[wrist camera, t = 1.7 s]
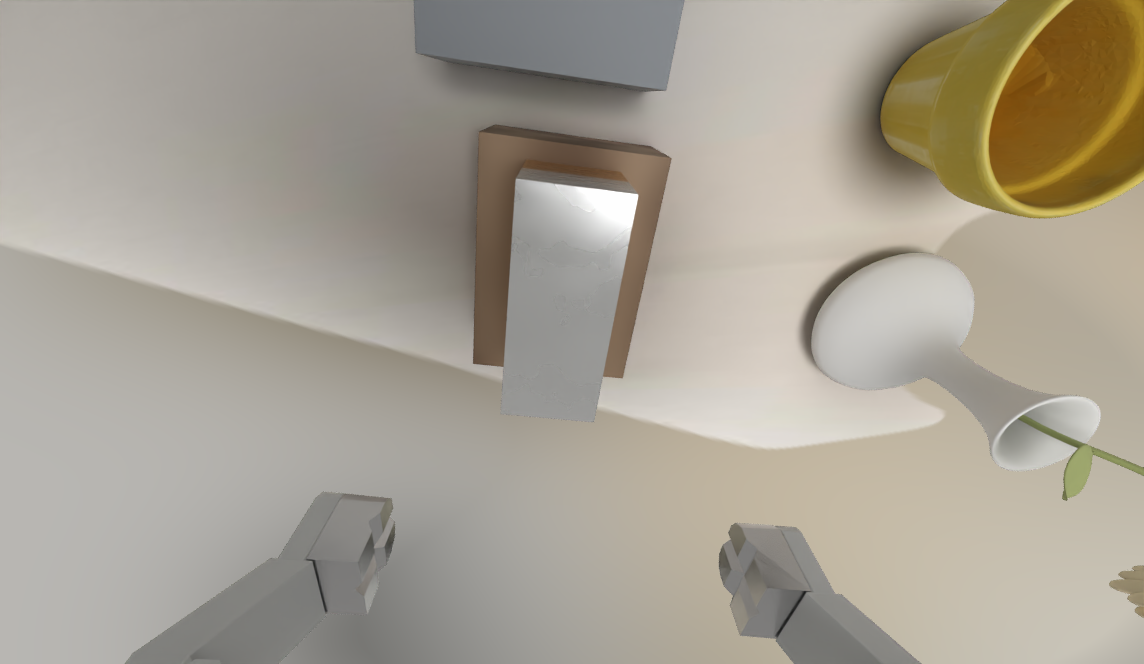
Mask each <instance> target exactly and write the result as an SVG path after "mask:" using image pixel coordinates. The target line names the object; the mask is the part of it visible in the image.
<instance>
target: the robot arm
mask: <svg viewBox="0 0 1144 664" xmlns="http://www.w3.org/2000/svg"><path fill="white" fill-rule="evenodd" d="M392 510H393V504H392V499H391V498H384V497H374V496H364V495H354V494H344V493H332V492H322V493H321V494H320V495H318V496H317V497H316V498H315V500H314V501H313V503H312V505H311V506H310V508H309V509H308V511H307V513H306V514H305V516H304V517H303V519H302V520H301V522H300V524H299V525H298V527H297V528H296V530H295V532H294V533H293V535H292V536H291V538H290V540H289V541H288V543H287V544H286V546H285V548H284V549H283V551H282V553H281V554H280V555H279V557H278V558H270V559H268V560H267V561H266V562H264V563H263V564H261V565H260V566H258V567H257V568H255V569H254V570H253V571H251V572H250V573H248V574H247V575H245V576H244V577H242V578H241V579H240V580H238V581H237V582H235V583H234V584H232V585H231V586H229V587H228V588H226V589H225V590H224V591H222V592H221V593H219V594H218V595H216V596H215V597H213V598H212V599H211V600H209V601H208V602H207V603H205V604H203V605H202V606H200V607H199V608H197V609H196V610H195V611H193V612H192V613H190V614H189V615H187V616H186V617H185V618H183V619H182V620H180V621H179V622H177V623H176V624H174V625H173V626H171V627H170V628H169V629H167V630H166V631H164V632H163V633H161V634H160V635H158V636H157V637H156V638H154V639H153V640H151V641H150V642H148V643H147V644H145V645H144V646H142V647H141V648H140V649H138V650H137V651H135V652H134V653H133V654H132V655H131V656H130V658H129V659H128V660H127V661H126V663H125V664H279V663H280V662H281V661H282V660H283V659H284V658H285V657H286V656H287V655H288V654H289V653H290V652H291V651H292V650H293V649H294V648H295V647H296V646H297V645H298V644H299V643H300V642H301V641H302V640H303V639H304V638H305V637H306V636H307V635H308V634H309V633H310V632H311V631H312V630H313V629H314V628H315V627H316V626H317V625H318V624H319V623H320V622H321V621H322V620H323V619H324V618H325V617H326V614H354V615H367V614H368V611H369V609H370V606H371V604H372V601H373V599H374V596H375V594H376V591H377V588H378V586H379V579H378V571H379V570H381V569H382V568H383V567H384V566H386V565H387V562H388V559H389V557H390V554H391V551H392V546H393V542H394V538H395V521H394V520H393V519H391V518H390V515H391V512H392ZM728 533H729V536H730V538H731V540H729V541H728V542H726V543H725V544H723V546H722V548H721V551H720V553H719V569H720V575H721V579H722V582H723V585H724V587H725V588H726V589H727V590H728V591H729V592H730V593H731V594H732V595H733V598H732V601H731V604H730V607H731V610H732V613H733V616H734V619H735V622H736V625H737V628H738V631H739V634H740V635H741V636H752V637H764V638H775V639H776V642H777V643H778V644H779V646H780V647H781V648H782V649H783V651H784V652H785V653H786V654H787V655H788V657H789V658H790V659H791V660H792V662H793V663H794V664H921V663H920V662H919V661H917V660H916V659H915V658H914V657H913V656H912V655H911V654H909V653H908V652H907V651H906V650H905V649H904V648H903V647H901V646H900V645H899V644H898V643H897V642H896V641H895V640H893V639H892V638H891V637H890V636H889V635H888V634H886V633H885V632H884V631H883V630H882V629H881V628H879V627H878V626H877V625H876V624H875V623H874V622H873V621H871V620H870V619H869V618H868V617H866V615H864V614H863V613H862V612H861V611H860V610H859V609H857V608H856V607H855V606H854V605H853V604H852V603H851V602H849V601H848V600H847V599H846V598H845V597H843V595H842V594H835V592H834V591H833V589H832V587H831V585H830V583H829V582H828V580H827V578H826V576H825V574H824V572H823V571H822V569H821V567H820V565H819V563H818V562H817V560H816V558H815V556H814V555H813V553H812V551H811V549H810V547H809V545H808V544H807V542H806V540H805V538H804V536H803V534H802V533H801V531H800V530H799V529H797V528H796V527H785V526H774V525H763V524H762V525H761V524H746V523H735V524H733V525H732V526H731V528H730V530H729V532H728Z"/></svg>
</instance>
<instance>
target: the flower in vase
mask: <svg viewBox="0 0 1144 664" xmlns="http://www.w3.org/2000/svg"><path fill="white" fill-rule="evenodd" d="M973 311H974V294H973V290H972V287H971V284H970V283H969V281H968V279H967V278H966V276H965V275H964V274H963V272H962V271H961V270H960V269H959V268H958V267H957V266H956V265H955V264H954V263H952V262H951V261H950V260H948V259H946V258H943V257H941V256H938V255H934V254H928V253H907V254H900V255H896V256H892V257H888V258H885V259H882V260H880V261H877V262H874V263H872V264H870V265H868V266H866V267H864V268H862V269H860V270H858V271H857V272H855V273H853V274H852V275H851V276H849V277H848V278H847V279H845V280H844V281H843V282H842V283H841V284H840V285H839V286H838V287H837V288H836V289H835V290H834V291H833V292H832V293H831V294H830V295H829V297H828V298H827V299H826V301H825V302H824V304H823V305H822V307H821V309H820V310H819V313H818V315H817V317H816V320H815V323H814V327H813V331H812V338H811V349H812V354H813V357H814V360H815V363H816V364H817V366H818V367H819V369H820V370H821V371H822V372H823V373H824V374H825V375H826V376H827V377H829V378H830V379H832V380H834V381H835V382H838V383H840V384H843V385H846V386H848V387H851V388H856V389H862V390H879V389H887V388H894V387H899V386H903V385H906V384H909V383H912V382H914V381H917V380H919V379H922V378H924V377H925V378H928V379H930V380H932V381H934V382H936V383H937V384H939V385H940V386H942V387H943V388H945V389H946V390H947V391H949V392H950V393H951V394H952V395H953V396H955V397H956V398H957V399H958V400H959V401H960V402H961V403H962V404H964V406H966V408H968V409H969V411H970V412H971V413H972V414H973V415H974V416H975V417H976V419H977V420H978V421H979V422H980V424H981V425H982V427H983V428H984V430H985V432H986V434H987V437H988V440H989V446H990V454H991V456H992V458H993V461H994V462H995V463H996V464H997V465H998V466H1000V467H1001V468H1004V469H1007V470H1011V471H1029V470H1035V469H1039V468H1043V467H1046V466H1049V465H1052V464H1054V463H1057V462H1059V461H1061V460H1063V459H1065V458H1066V457H1068V456H1070V455H1071V454H1073V455H1072V456H1071V458H1070V460H1069V461H1068V463H1067V466H1066V468H1065V472H1064V479H1063V480H1064V492H1063V496H1062V499H1063V500H1066V501H1067V498H1070V497H1073V496H1075V495H1077V494H1078V493H1079V492H1080V491H1081V490H1082V489H1083V487H1084V485H1085V484H1086V481H1087V479H1088V476H1089V473H1090V469H1091V464H1092V456H1093V455H1096V456H1098V457H1101V458H1103V459H1106V460H1108V461H1110V462H1113V463H1115V464H1118V465H1120V466H1122V467H1125V468H1127V469H1129V470H1132V471H1134V472H1136V473H1138V474H1141V475H1143V476H1144V467H1140V466H1138V465H1136V464H1133V463H1131V462H1129V461H1126V460H1124V459H1121V458H1118V457H1116V456H1114V455H1111V454H1109V453H1107V452H1104V451H1101V450H1099V449H1096V448H1094V447H1091V446H1089V445H1087V444H1085V443H1086V442H1087V441H1088V440H1089V439H1090V438H1091V437H1092V435H1093V434H1094V433H1095V431H1096V429H1097V427H1098V425H1099V423H1100V418H1101V413H1100V409H1099V407H1098V405H1096V403H1095V402H1093V401H1092V400H1090V399H1088V398H1085V397H1081V396H1077V395H1053V394H1046V393H1041V392H1037V391H1033V390H1029V389H1026V388H1024V387H1021V386H1019V385H1016V384H1014V383H1011V382H1009V381H1007V380H1005V379H1003V378H1001V377H999V376H997V375H995V374H993V373H991V372H990V371H988V370H987V369H985V368H983V367H981V366H980V365H978V364H976V363H975V362H974V361H972V360H971V359H970V358H968V357H967V356H966V355H965V354H964V353H963V352H962V351H961V350H960V346H961V345H962V343H963V342H964V340H965V338H966V336H967V334H968V332H969V329H970V326H971V323H972V318H973ZM1132 569H1133V570H1134V571H1122V572H1120V573H1119V574H1118V575H1119V576H1120V577H1122V578H1124V580H1113V581H1111V582H1110V583H1109V585H1110V586H1111V587H1112V588H1113V589H1116V590H1118V591H1121V592H1124V593H1127V594H1131V595H1129V596H1128V598H1127V599H1128V600H1129V601H1130V602H1132V603H1134V604H1135V605H1138V606H1139V607H1137V608H1136V609H1135V612H1136V613H1137V614H1138V615H1140V616H1141V617H1143V618H1144V566H1134V567H1133V568H1132Z"/></svg>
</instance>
